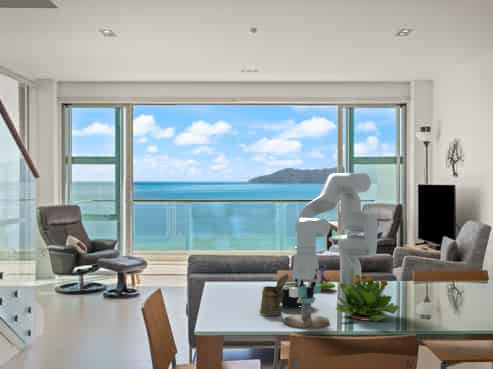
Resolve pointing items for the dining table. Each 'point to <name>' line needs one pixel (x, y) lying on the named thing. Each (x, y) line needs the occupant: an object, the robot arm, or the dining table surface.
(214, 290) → the dining table surface
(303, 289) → the white-capped blue bar
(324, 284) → the figurine
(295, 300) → the bowl
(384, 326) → the dining table surface
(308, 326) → the base plate
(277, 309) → the wooden mug
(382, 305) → the potted flower
